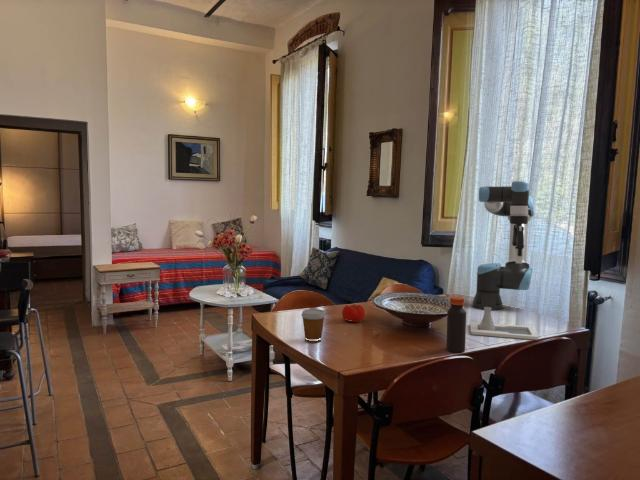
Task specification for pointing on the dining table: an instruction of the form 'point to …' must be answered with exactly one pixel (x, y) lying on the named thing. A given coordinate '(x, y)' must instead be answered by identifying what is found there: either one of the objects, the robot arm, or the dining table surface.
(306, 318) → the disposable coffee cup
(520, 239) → the robot arm
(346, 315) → the tomato
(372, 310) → the dining table surface
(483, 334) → the keyhole plate
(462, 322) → the bottle
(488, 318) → the flask
